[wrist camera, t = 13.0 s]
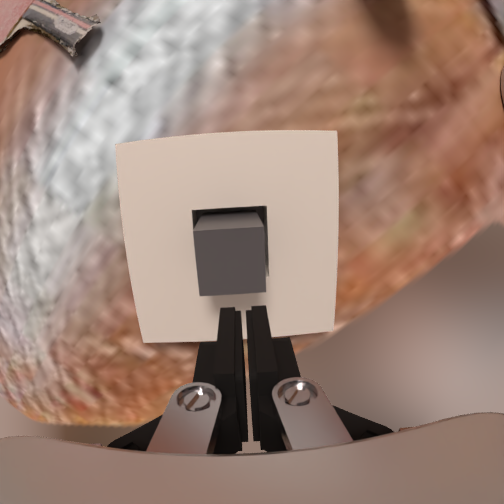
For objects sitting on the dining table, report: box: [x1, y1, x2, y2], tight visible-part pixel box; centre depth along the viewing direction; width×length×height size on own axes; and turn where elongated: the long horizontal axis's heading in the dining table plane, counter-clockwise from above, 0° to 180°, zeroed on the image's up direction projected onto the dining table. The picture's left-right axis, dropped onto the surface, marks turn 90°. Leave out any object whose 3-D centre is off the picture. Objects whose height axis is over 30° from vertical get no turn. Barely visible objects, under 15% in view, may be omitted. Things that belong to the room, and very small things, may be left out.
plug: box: [193, 210, 266, 296], centre depth 25 cm, size 5×5×8 cm
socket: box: [115, 130, 339, 343], centre depth 28 cm, size 18×18×4 cm
